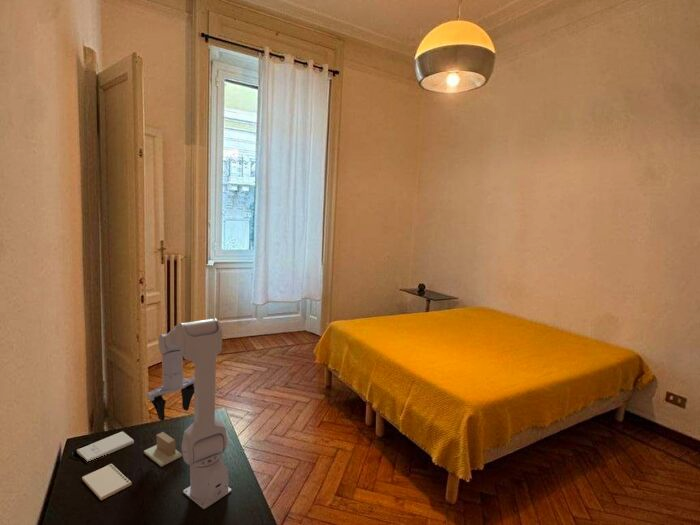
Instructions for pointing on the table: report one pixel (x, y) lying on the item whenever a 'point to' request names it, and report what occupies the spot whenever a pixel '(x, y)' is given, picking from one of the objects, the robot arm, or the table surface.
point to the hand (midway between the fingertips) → (173, 414)
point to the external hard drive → (105, 446)
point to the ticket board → (106, 481)
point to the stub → (163, 450)
